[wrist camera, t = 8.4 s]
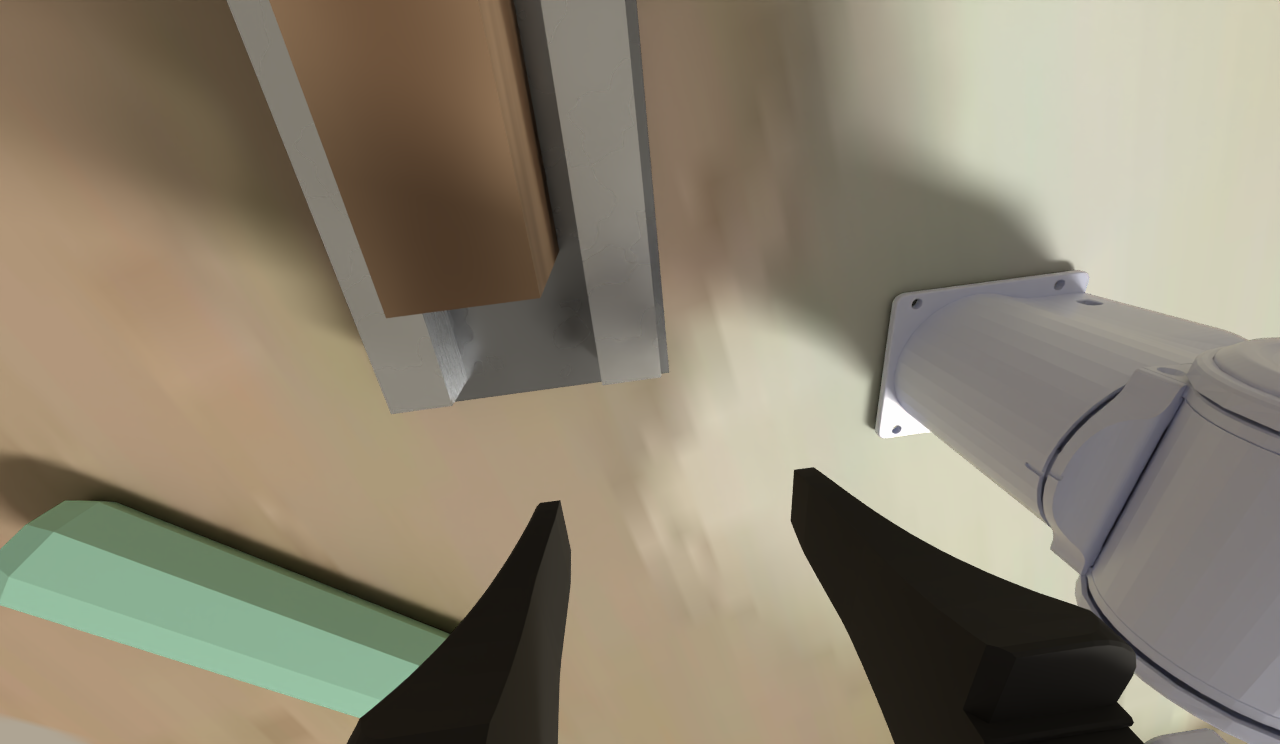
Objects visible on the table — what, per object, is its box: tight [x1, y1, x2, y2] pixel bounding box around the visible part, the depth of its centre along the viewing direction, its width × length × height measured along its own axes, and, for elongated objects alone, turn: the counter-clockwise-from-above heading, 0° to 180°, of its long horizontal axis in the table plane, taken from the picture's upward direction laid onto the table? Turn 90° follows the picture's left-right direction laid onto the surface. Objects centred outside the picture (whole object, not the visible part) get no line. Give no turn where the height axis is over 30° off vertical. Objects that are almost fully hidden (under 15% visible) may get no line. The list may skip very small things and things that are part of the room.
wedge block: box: [269, 0, 559, 318], centre depth 13 cm, size 4×10×7 cm, turn 6°
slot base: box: [227, 0, 669, 414], centre depth 15 cm, size 12×22×4 cm, turn 6°
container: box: [0, 500, 450, 718], centre depth 24 cm, size 6×6×25 cm
